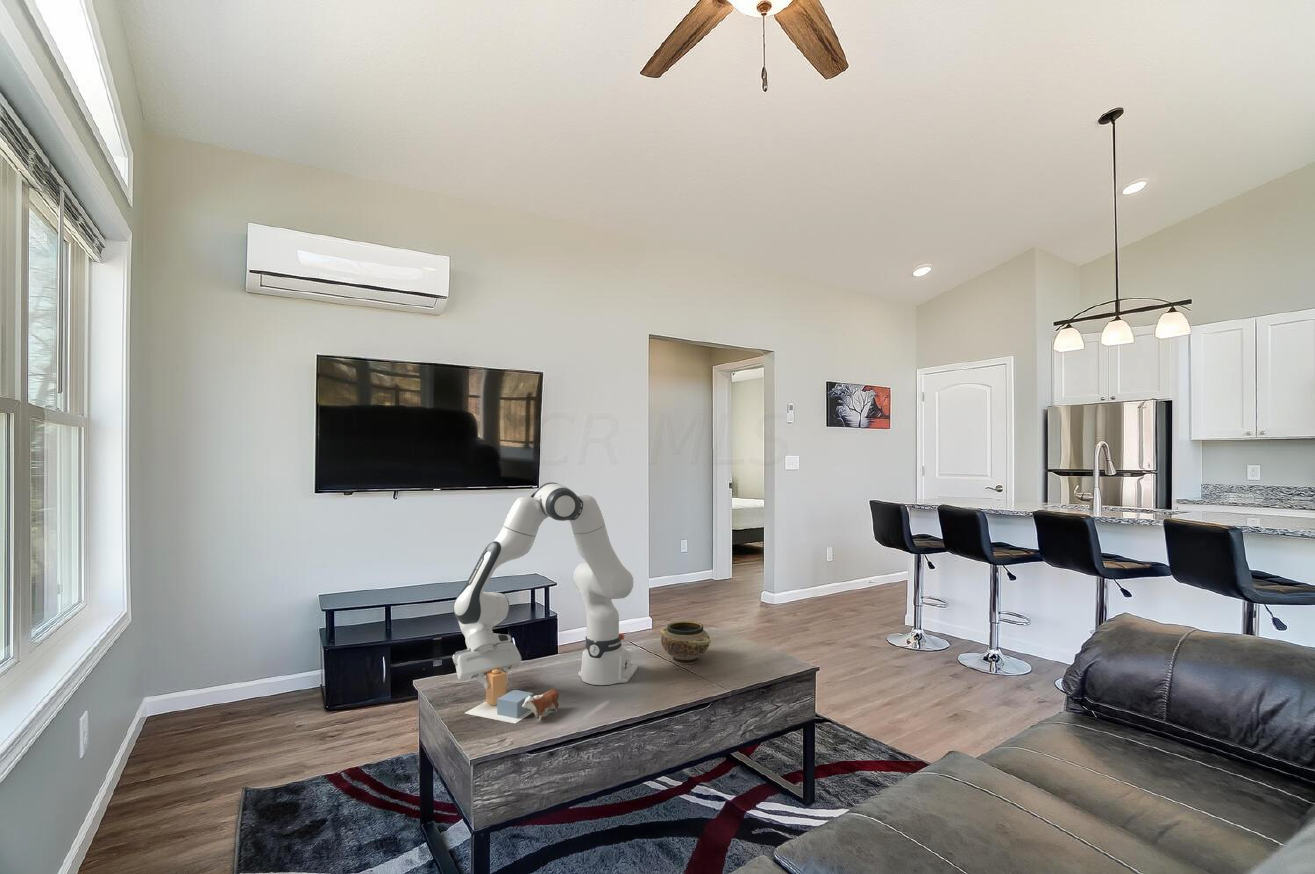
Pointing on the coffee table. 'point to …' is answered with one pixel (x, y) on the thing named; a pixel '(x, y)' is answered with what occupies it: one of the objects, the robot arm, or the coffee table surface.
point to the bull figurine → (542, 702)
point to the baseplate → (493, 713)
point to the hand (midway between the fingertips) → (497, 685)
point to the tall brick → (495, 686)
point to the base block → (513, 704)
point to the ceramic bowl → (685, 641)
